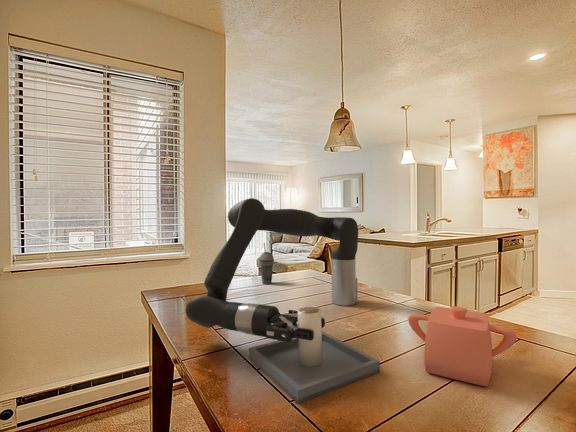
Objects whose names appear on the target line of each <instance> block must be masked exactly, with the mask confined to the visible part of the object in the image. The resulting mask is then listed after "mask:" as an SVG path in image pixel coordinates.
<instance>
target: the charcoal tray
mask: <svg viewBox="0 0 576 432" xmlns="http://www.w3.org/2000/svg"><path fill="white" fill-rule="evenodd" d="M248 359H249V360H251V362H253V363H254V364H255V365H256V366H257V367H258V368H259V369H260V370H261V371H262V372H263V373H264V374H266V376H267V377H268V378H269V379H270V380H272V381H273V382H274V383H275V384H276V385H277V386H278V387H279V388H280V389H282V390H283V391H284V392H285V393H286V394H287V395H288V396H289V397H290V398H291V399H292V400H293V401H294V402H295V403H297V404H298V405H299V404H300V403H304V402H306V401H309V400H311V399H314V398H316V397H319V396H322V395H324V394H326V393H327V394H328V393H329V392H332V391H334V390H337V389H339V388H343V387H345V386H347V385H350V384H353V383H356V382H357V381H361V380H363V379H366V378H368V377H371V376H373V375H377V374H378V373H381V361H380V360H378V359H377V358H375V357H373V356H371V355H369V354H367V353H365V352H363V351H361V350H359V349H357V348H355V347H354V346H352V345H350V344H348V343H346V342H344V341H343V340H340V339H339V338H337V337H335V336H332V335H330V334H329V333H327V332H325V331H323V330H322V363H321V364H320V365H318V366H314V367H307V366H303V365H301V364H300V363H299V346H298V338H297V339H291V342H285V341H279V340H275V341H270V342H267V343H263V344H259V345H255V346H250V347H248Z"/></svg>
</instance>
